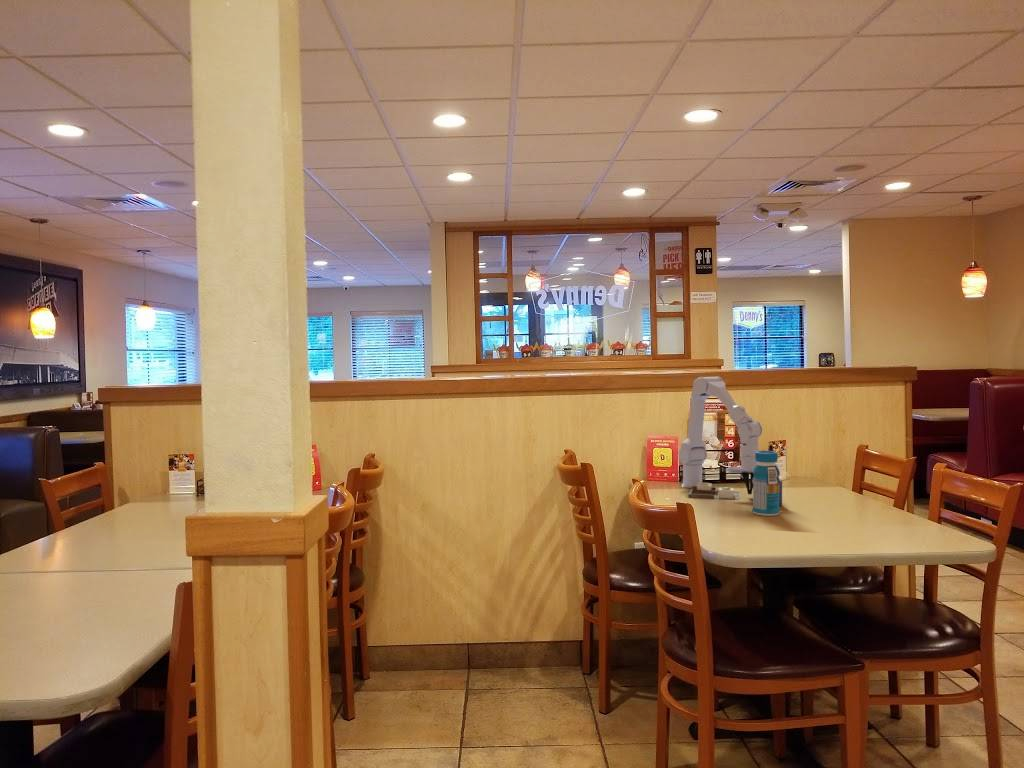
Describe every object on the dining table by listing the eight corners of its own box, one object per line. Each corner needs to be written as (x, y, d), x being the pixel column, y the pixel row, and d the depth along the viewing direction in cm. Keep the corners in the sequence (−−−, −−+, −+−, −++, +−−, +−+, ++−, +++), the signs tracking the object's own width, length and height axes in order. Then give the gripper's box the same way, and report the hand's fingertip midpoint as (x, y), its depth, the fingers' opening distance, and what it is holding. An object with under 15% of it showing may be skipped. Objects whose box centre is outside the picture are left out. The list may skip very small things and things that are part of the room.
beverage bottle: (750, 515, 243) (750, 452, 242) (754, 510, 250) (755, 449, 249) (777, 517, 239) (778, 454, 238) (781, 512, 246) (782, 451, 245)
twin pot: (697, 490, 285) (697, 481, 285) (711, 490, 283) (711, 482, 283) (696, 492, 280) (696, 483, 280) (710, 493, 278) (710, 484, 278)
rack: (689, 489, 287) (689, 486, 287) (739, 492, 282) (739, 488, 282) (686, 498, 271) (686, 494, 271) (739, 500, 265) (739, 496, 265)
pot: (719, 495, 275) (719, 486, 274) (733, 495, 273) (733, 487, 273) (718, 497, 270) (718, 488, 270) (733, 498, 268) (733, 489, 268)
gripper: (728, 456, 267) (728, 494, 267) (771, 457, 263) (771, 496, 263) (728, 453, 274) (728, 491, 274) (771, 455, 269) (771, 493, 270)
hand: (749, 493), depth 269 cm, fingers closed
